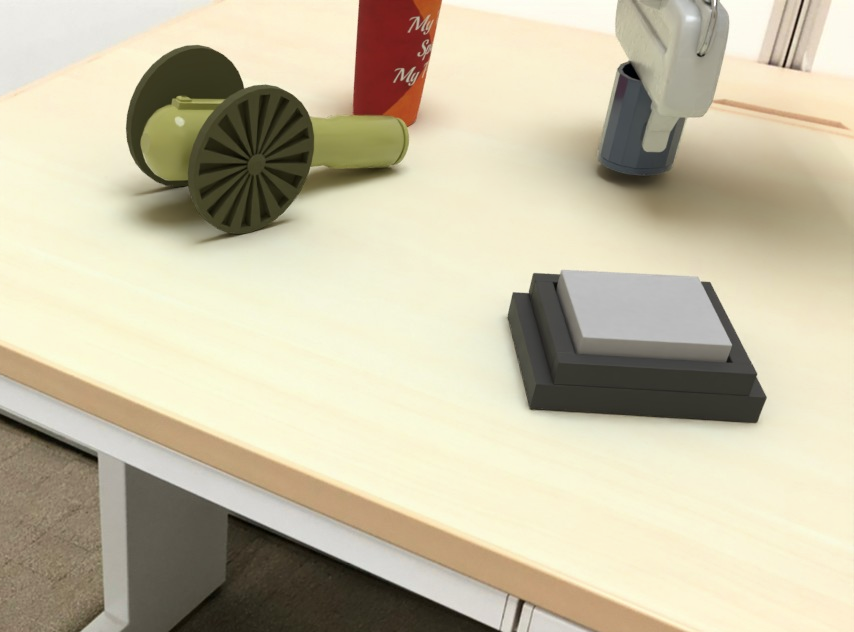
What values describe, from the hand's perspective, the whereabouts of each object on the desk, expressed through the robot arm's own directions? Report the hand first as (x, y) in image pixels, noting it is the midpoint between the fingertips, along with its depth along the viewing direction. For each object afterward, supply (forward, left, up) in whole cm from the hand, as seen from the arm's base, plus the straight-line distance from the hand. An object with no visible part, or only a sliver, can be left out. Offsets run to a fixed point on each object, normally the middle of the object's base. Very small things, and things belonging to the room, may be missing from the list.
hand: (642, 130), depth 105 cm
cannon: (+30, +7, -4) cm, 32 cm away
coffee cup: (+20, -11, -4) cm, 24 cm away
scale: (+6, +32, -4) cm, 33 cm away
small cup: (0, 0, -3) cm, 3 cm away
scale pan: (+6, +32, -1) cm, 33 cm away
